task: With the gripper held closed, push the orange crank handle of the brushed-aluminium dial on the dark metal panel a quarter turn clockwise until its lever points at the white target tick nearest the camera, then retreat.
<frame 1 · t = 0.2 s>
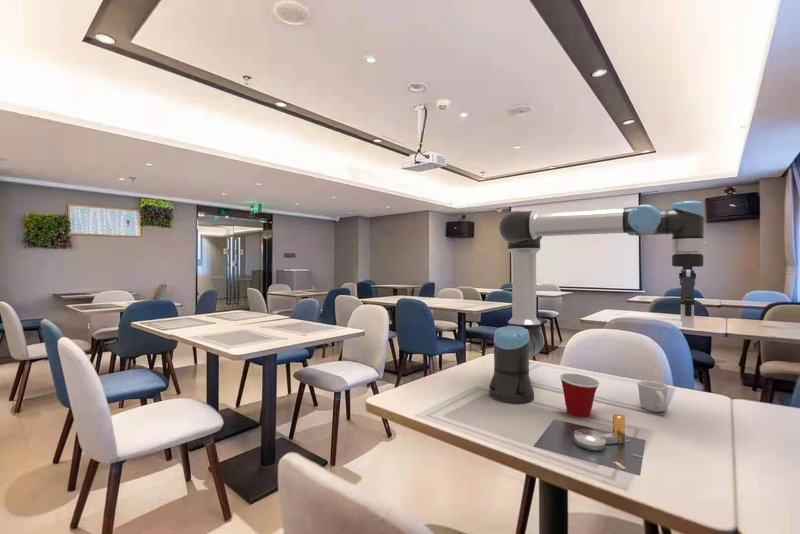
hand: (686, 324, 114), 28 cm above the table, fingers open, 13 cm apart
cup: (654, 411, 119), on the table
panel: (590, 449, 94), on the table
plastic cup: (579, 418, 113), on the table
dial: (600, 429, 94), point 5 cm above the table, hinge at 0.0°
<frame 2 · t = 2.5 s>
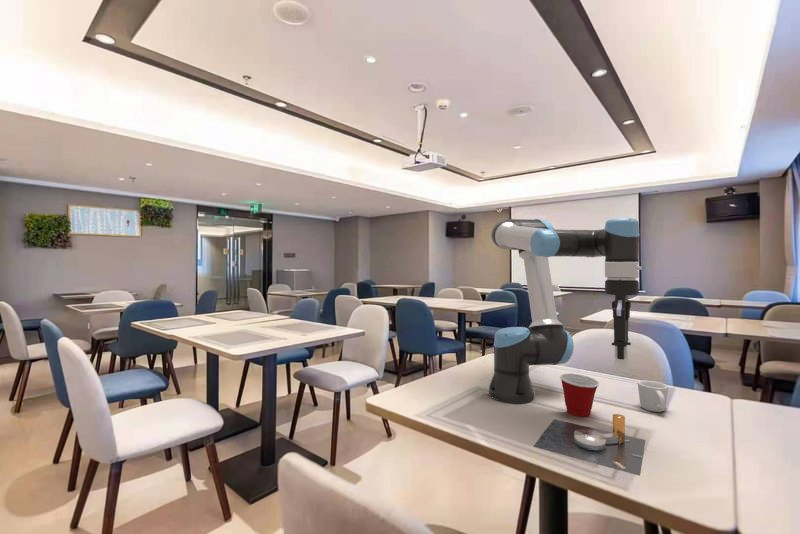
hand: (621, 370, 98), 18 cm above the table, fingers closed
nothing on the table moved.
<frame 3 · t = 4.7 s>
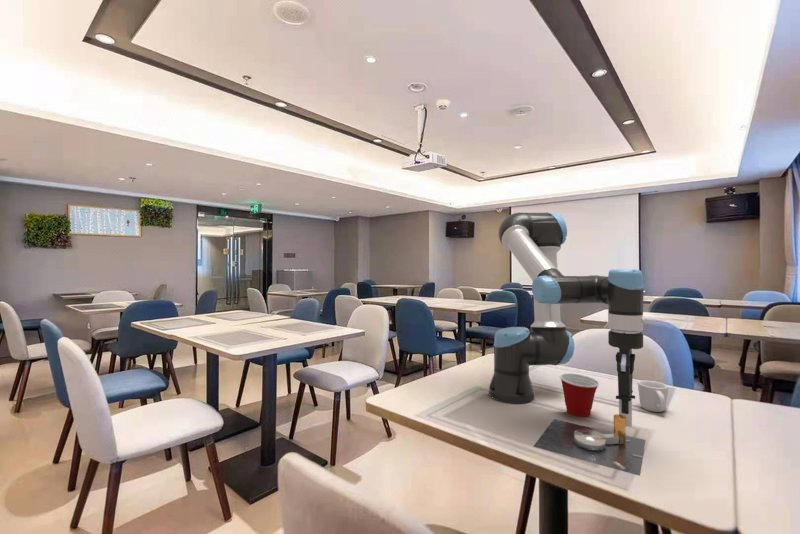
hand: (625, 424, 95), 6 cm above the table, fingers closed
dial: (600, 430, 94), point 5 cm above the table, hinge at -2.2°, touching gripper
everything else where it was.
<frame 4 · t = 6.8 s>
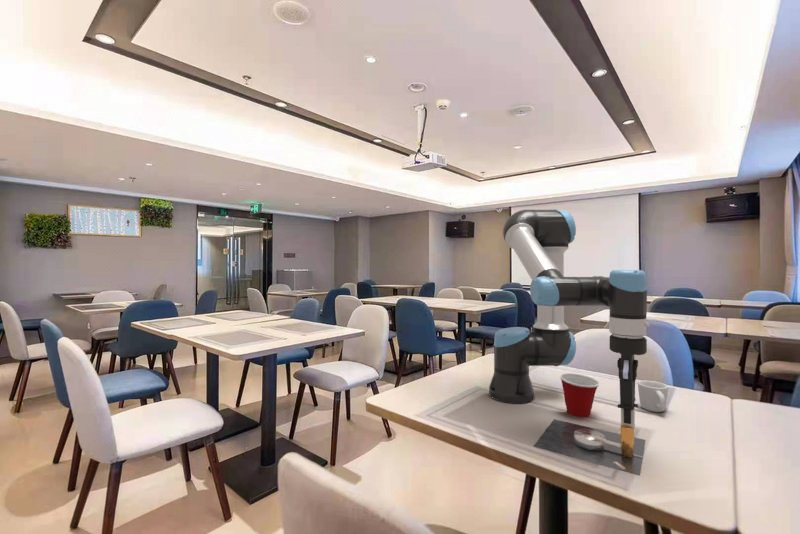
hand: (627, 435, 90), 5 cm above the table, fingers closed
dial: (602, 434, 92), point 5 cm above the table, hinge at -50.7°, touching gripper
everything else where it was.
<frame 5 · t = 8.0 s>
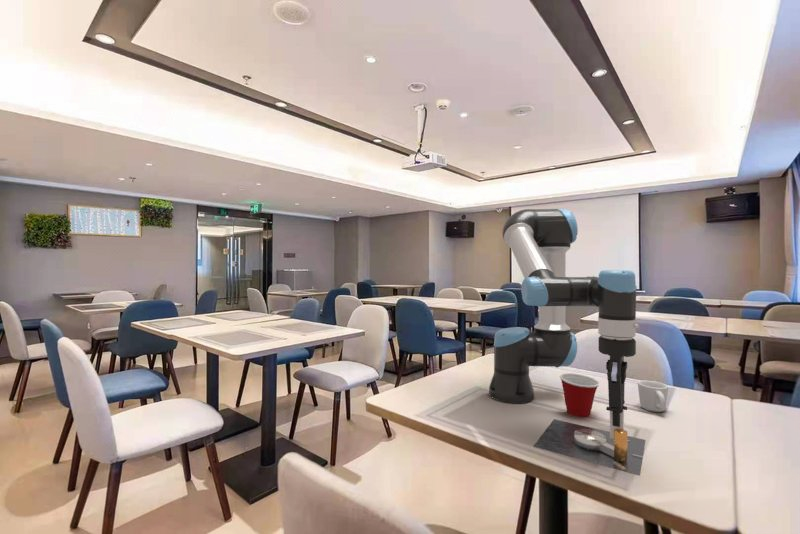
hand: (616, 438, 88), 5 cm above the table, fingers closed
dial: (600, 435, 91), point 5 cm above the table, hinge at -74.4°, touching gripper
everything else where it was.
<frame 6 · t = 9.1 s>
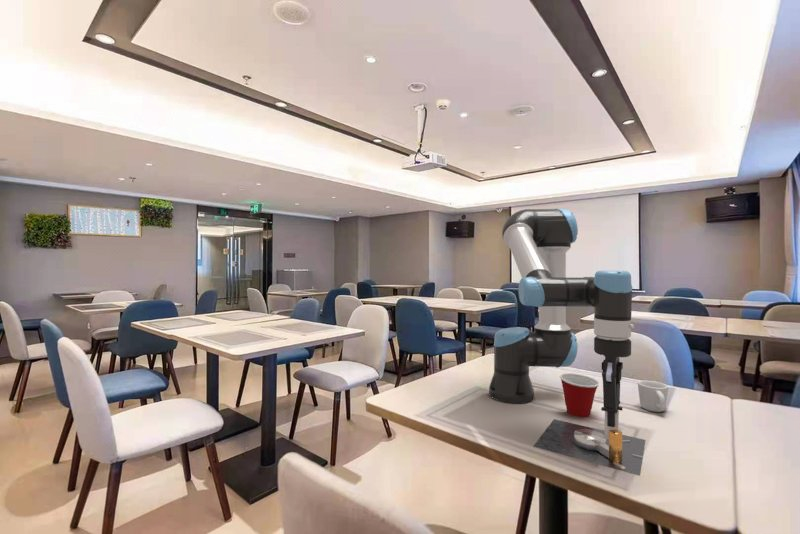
hand: (611, 438, 88), 5 cm above the table, fingers closed
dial: (598, 435, 91), point 5 cm above the table, hinge at -85.3°
everything else where it was.
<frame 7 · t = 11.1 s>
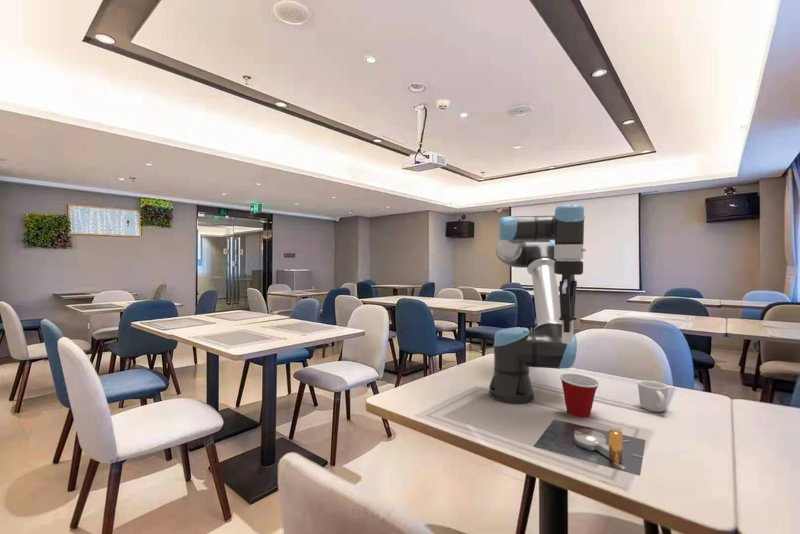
hand: (567, 342, 109), 23 cm above the table, fingers closed
nothing on the table moved.
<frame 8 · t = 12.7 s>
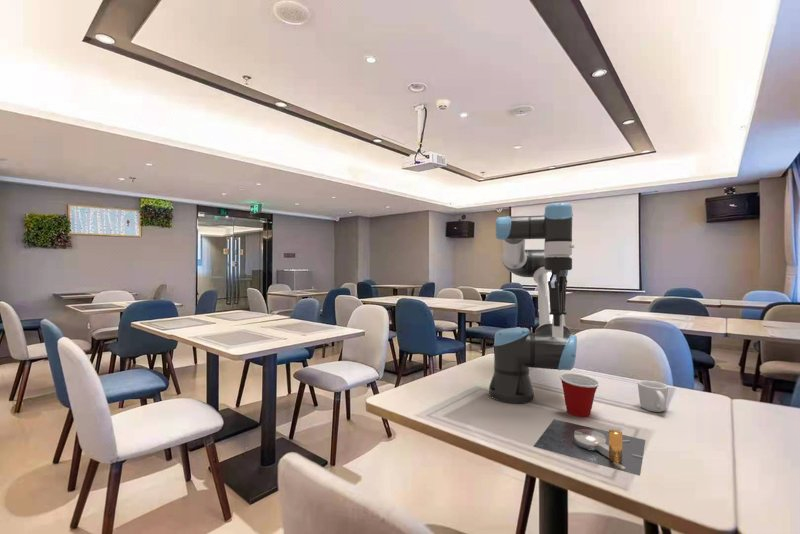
hand: (557, 336, 112), 24 cm above the table, fingers closed
nothing on the table moved.
at the end: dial at -85° (first picture: +0°) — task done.
